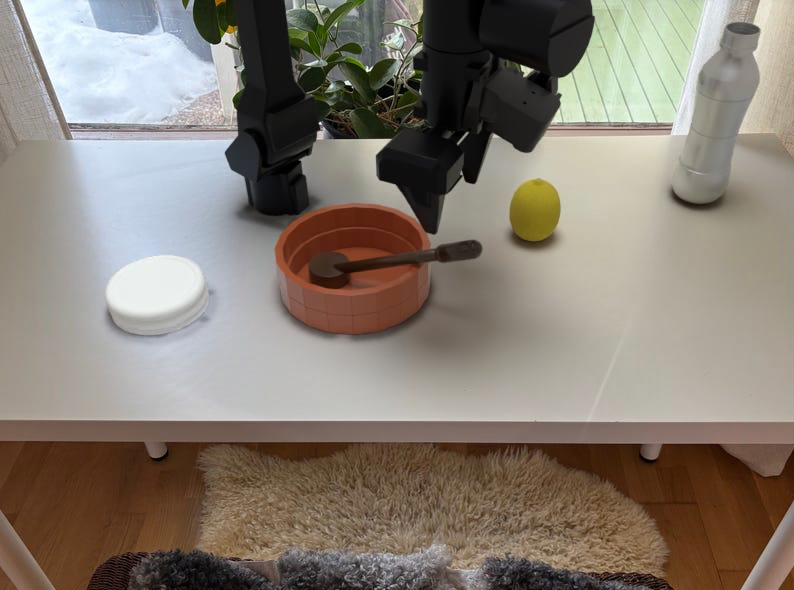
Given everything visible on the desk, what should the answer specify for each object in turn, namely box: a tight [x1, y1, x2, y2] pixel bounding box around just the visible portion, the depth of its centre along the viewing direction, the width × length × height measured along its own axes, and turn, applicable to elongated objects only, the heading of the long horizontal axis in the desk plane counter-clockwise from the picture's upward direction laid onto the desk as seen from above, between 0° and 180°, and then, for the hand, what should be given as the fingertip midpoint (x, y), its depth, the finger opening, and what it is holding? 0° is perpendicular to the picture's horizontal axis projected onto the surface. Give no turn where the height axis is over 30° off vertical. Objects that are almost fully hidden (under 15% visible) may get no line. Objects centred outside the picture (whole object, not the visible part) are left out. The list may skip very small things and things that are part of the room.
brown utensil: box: [308, 239, 484, 289], centre depth 77 cm, size 19×4×10 cm, turn 64°
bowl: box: [274, 202, 432, 335], centre depth 80 cm, size 16×16×6 cm
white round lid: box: [104, 254, 210, 336], centre depth 79 cm, size 10×10×4 cm
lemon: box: [508, 177, 562, 242], centre depth 85 cm, size 6×6×8 cm
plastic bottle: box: [671, 21, 762, 205], centre depth 87 cm, size 6×7×20 cm
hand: (451, 206), depth 72 cm, fingers open, 9 cm apart
